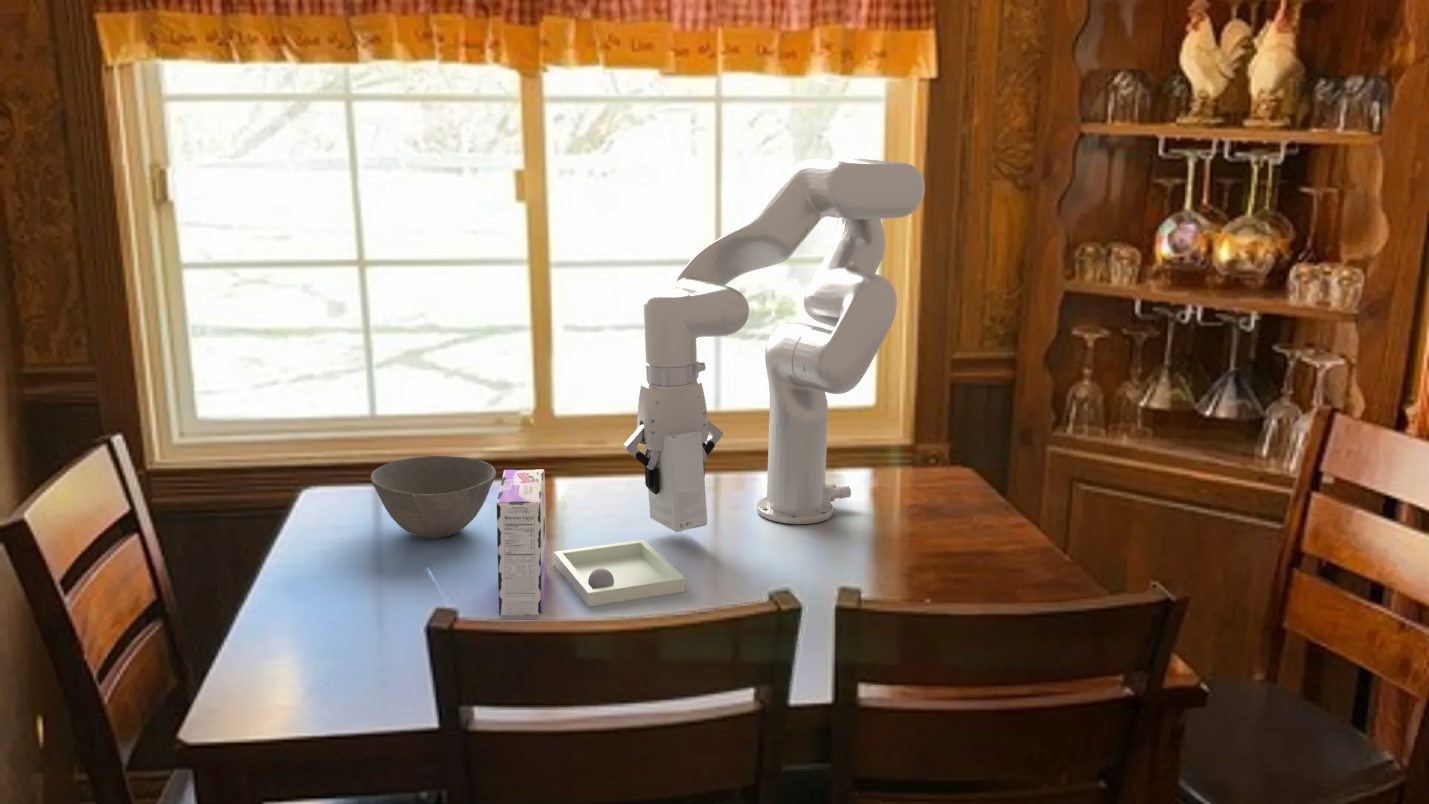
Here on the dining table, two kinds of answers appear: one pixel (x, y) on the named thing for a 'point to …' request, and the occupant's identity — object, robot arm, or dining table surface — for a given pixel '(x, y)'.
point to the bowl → (433, 492)
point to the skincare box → (680, 483)
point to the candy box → (521, 542)
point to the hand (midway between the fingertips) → (675, 486)
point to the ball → (600, 579)
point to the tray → (619, 572)
